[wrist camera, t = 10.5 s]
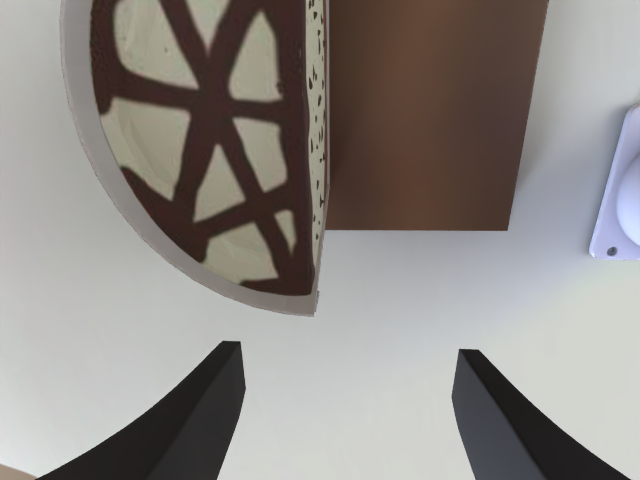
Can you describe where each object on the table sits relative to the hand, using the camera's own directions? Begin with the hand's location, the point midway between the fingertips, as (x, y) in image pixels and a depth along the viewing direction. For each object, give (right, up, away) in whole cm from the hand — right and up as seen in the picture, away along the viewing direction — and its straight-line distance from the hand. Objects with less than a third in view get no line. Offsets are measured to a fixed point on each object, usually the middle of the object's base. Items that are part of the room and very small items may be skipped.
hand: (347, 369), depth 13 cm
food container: (-4, +11, +5) cm, 13 cm away
